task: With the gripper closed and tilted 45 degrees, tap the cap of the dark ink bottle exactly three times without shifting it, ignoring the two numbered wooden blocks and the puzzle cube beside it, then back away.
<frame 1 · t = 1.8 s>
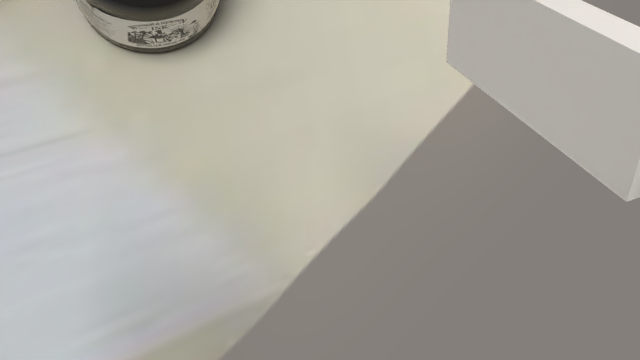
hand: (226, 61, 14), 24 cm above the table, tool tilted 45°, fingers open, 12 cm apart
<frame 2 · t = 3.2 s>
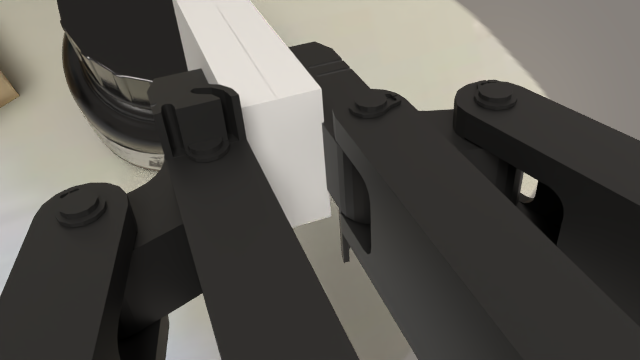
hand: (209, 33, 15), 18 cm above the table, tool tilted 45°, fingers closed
ink bottle: (171, 97, 33), on the table
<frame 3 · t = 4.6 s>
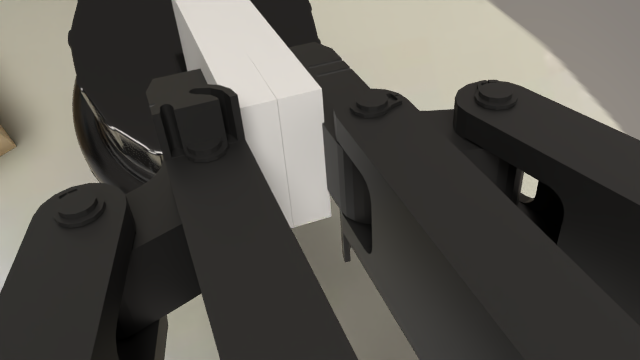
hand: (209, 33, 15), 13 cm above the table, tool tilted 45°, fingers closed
ink bottle: (198, 146, 28), on the table, touching gripper
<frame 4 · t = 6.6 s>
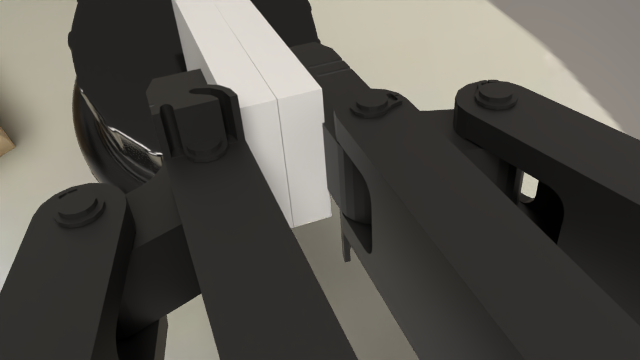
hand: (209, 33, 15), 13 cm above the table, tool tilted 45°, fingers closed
ink bottle: (197, 146, 28), on the table, touching gripper
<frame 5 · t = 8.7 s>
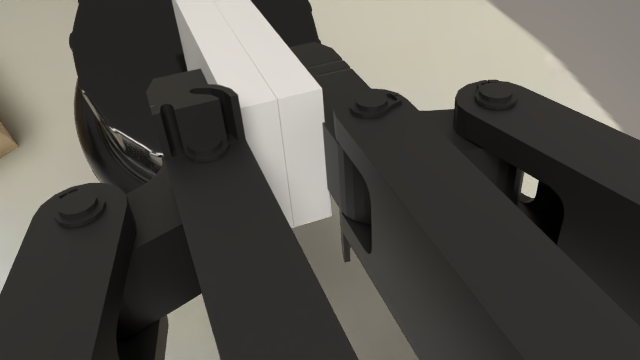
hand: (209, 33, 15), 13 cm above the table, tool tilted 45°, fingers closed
ink bottle: (199, 146, 28), on the table, touching gripper
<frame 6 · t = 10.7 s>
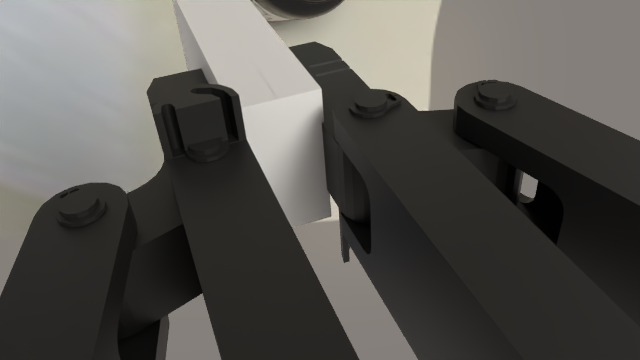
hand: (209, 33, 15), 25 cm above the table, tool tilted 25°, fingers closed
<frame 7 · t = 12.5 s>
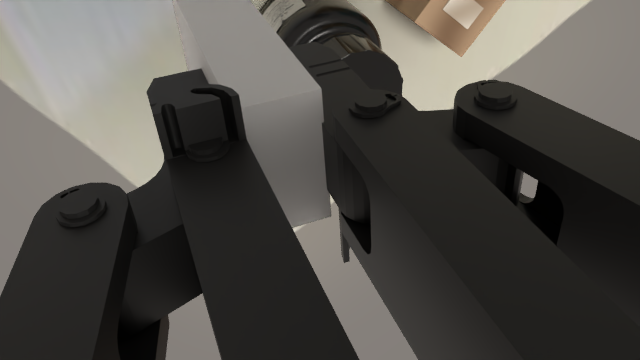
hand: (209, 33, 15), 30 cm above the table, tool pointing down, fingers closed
ink bottle: (301, 33, 50), on the table
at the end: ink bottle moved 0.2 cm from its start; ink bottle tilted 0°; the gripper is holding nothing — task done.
